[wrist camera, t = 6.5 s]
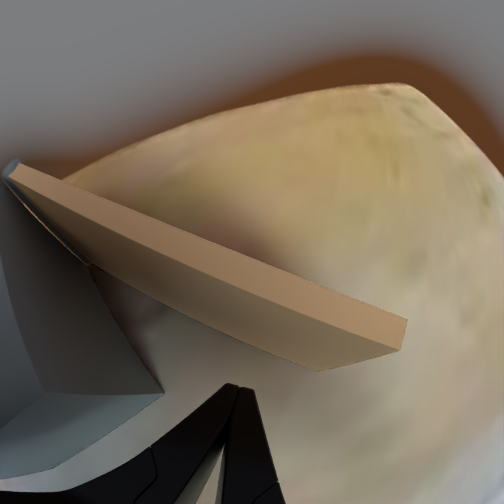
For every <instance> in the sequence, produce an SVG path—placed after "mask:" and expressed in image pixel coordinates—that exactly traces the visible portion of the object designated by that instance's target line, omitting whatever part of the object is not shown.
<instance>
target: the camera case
mask: <svg viewBox="0 0 504 504" xmlns="http://www.w3.org/2000/svg"><path fill="white" fill-rule="evenodd" d="M163 394H165V393H164V391H163V390H162V389H161V387H160V386H159V385H158V383H157V382H156V381H155V379H154V378H153V377H152V375H151V374H150V372H149V371H148V370H147V368H146V367H145V365H144V364H143V362H142V361H141V360H140V358H139V357H138V355H137V354H136V352H135V351H134V349H133V348H132V346H131V345H130V343H129V342H128V340H127V338H126V337H125V335H124V334H123V332H122V330H121V329H120V327H119V326H118V324H117V322H116V321H115V319H114V317H113V316H112V314H111V312H110V310H109V309H108V307H107V305H106V303H105V302H104V300H103V298H102V296H101V294H100V292H99V291H98V289H97V287H96V285H95V283H94V281H93V279H92V277H91V275H90V273H89V271H88V269H87V267H86V265H85V264H84V263H83V262H81V261H80V260H79V259H78V258H77V257H76V256H75V255H74V254H72V253H71V252H70V251H69V250H68V249H67V248H66V247H65V246H64V245H63V244H62V243H61V242H60V241H59V240H57V239H56V238H55V237H54V236H53V235H52V234H51V233H50V232H49V231H48V230H47V229H46V228H45V227H44V226H43V225H42V224H41V223H40V222H39V221H38V220H37V219H36V218H35V217H34V216H33V215H32V214H31V212H30V211H29V210H28V209H27V208H26V207H25V206H24V205H23V204H22V203H21V202H20V201H19V200H18V198H17V197H16V196H15V195H14V194H13V193H12V192H11V191H10V189H9V188H8V187H7V186H6V185H5V184H4V183H3V181H2V180H1V179H0V479H6V478H12V477H18V476H23V475H28V474H33V473H37V472H41V471H45V470H49V469H53V468H55V467H56V466H58V465H60V464H61V463H63V462H65V461H66V460H68V459H69V458H71V457H73V456H74V455H76V454H77V453H79V452H81V451H82V450H84V449H85V448H87V447H88V446H90V445H91V444H93V443H95V442H96V441H98V440H99V439H101V438H102V437H104V436H105V435H107V434H108V433H110V432H111V431H113V430H114V429H116V428H117V427H118V426H120V425H121V424H123V423H124V422H126V421H127V420H129V419H130V418H131V417H133V416H134V415H136V414H137V413H138V412H140V411H141V410H143V409H144V408H145V407H147V406H148V405H150V404H151V403H152V402H154V401H155V400H156V399H158V398H159V397H161V396H162V395H163Z"/></svg>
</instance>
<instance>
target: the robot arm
mask: <svg viewBox="0 0 504 504" xmlns="http://www.w3.org/2000/svg"><path fill="white" fill-rule="evenodd" d="M223 447H224V449H223ZM222 449H223V454H222V461H221V467H220V474H219V481H218V488H217V494H216V501H215V504H286V503H285V500H284V497H283V494H282V491H281V488H280V484H279V482H278V478H277V474H276V470H275V467H274V463H273V460H272V456H271V452H270V449H269V445H268V441H267V438H266V434H265V430H264V426H263V423H262V419H261V415H260V411H259V407H258V403H257V399H256V395H255V392H254V390H253V389H250V388H246V387H239V386H238V385H234V384H230V383H226V384H225V385H223V386H222V387H221V388H220V389H219V390H218V391H217V392H216V393H214V394H213V395H212V396H211V397H210V398H209V399H207V400H206V401H205V402H204V403H203V404H202V405H200V406H199V407H198V408H197V409H196V410H195V411H193V412H192V413H191V414H190V415H189V416H187V417H186V418H185V419H184V420H182V421H181V422H180V423H179V424H178V425H176V426H175V427H174V428H173V429H171V430H170V431H169V432H167V433H166V434H165V435H164V436H162V437H161V438H160V439H159V440H157V441H156V442H155V443H153V444H152V445H151V447H148V448H146V449H145V450H144V451H142V452H141V453H140V454H138V455H137V456H135V457H134V458H132V459H131V460H129V461H128V462H126V463H125V464H123V465H121V466H119V467H117V468H115V469H114V470H112V471H110V472H108V473H106V474H104V475H101V476H99V477H97V478H95V479H93V480H91V481H88V482H86V483H84V484H82V485H79V486H77V487H74V488H71V489H68V490H64V491H59V492H13V491H0V504H196V502H197V500H198V498H199V496H200V494H201V493H202V491H203V489H204V487H205V485H206V483H207V481H208V479H209V477H210V475H211V473H212V471H213V468H214V466H215V464H216V462H217V460H218V458H219V456H220V454H221V452H222Z"/></svg>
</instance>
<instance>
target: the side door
mask: <svg viewBox="0 0 504 504" xmlns="http://www.w3.org/2000/svg"><path fill="white" fill-rule="evenodd" d="M2 178H3V179H4V181H5V182H6V183H7V184H8V185H9V186H10V188H11V189H12V190H13V191H14V192H15V193H16V195H17V196H18V197H19V198H20V199H21V200H22V201H23V202H24V203H25V205H26V206H27V207H28V208H29V209H30V210H31V211H32V212H33V213H34V214H35V215H36V216H37V217H38V218H39V219H40V220H41V221H42V222H43V223H44V224H45V225H46V226H47V227H48V228H49V229H50V230H51V231H52V232H53V233H54V234H55V235H56V236H57V237H58V238H59V239H60V240H61V241H62V242H63V243H64V244H65V245H66V246H67V247H68V248H69V249H70V250H71V251H72V252H74V253H75V254H76V255H77V256H78V257H79V258H80V259H81V260H82V261H83V262H85V263H88V262H90V263H92V264H94V265H95V266H97V267H99V268H100V269H102V270H104V271H105V272H107V273H109V274H111V275H112V276H114V277H116V278H117V279H119V280H121V281H123V282H124V283H126V284H128V285H130V286H132V287H133V288H135V289H137V290H139V291H141V292H142V293H144V294H146V295H148V296H150V297H152V298H154V299H155V300H157V301H159V302H161V303H163V304H165V305H167V306H169V307H171V308H173V309H175V310H177V311H179V312H181V313H183V314H185V315H187V316H189V317H191V318H193V319H195V320H197V321H199V322H201V323H203V324H205V325H207V326H210V327H212V328H214V329H216V330H218V331H220V332H222V333H225V334H227V335H229V336H231V337H234V338H236V339H238V340H240V341H243V342H245V343H247V344H250V345H252V346H254V347H257V348H259V349H261V350H264V351H266V352H269V353H271V354H273V355H276V356H278V357H281V358H283V359H286V360H289V361H291V362H294V363H296V364H299V365H302V366H304V367H307V368H310V369H312V370H315V371H318V372H319V371H323V370H328V369H333V368H337V367H341V366H345V365H350V364H354V363H357V362H361V361H365V360H369V359H372V358H376V357H379V356H383V355H386V354H390V353H393V352H396V351H399V350H400V349H401V345H402V341H403V338H404V334H405V329H406V325H407V321H408V319H405V318H403V317H400V316H398V315H395V314H392V313H390V312H387V311H385V310H382V309H380V308H377V307H375V306H372V305H369V304H367V303H364V302H362V301H359V300H357V299H354V298H352V297H349V296H347V295H344V294H341V293H339V292H336V291H334V290H331V289H329V288H326V287H324V286H321V285H319V284H316V283H314V282H311V281H309V280H306V279H304V278H301V277H299V276H296V275H294V274H291V273H288V272H286V271H283V270H281V269H278V268H276V267H273V266H271V265H268V264H266V263H263V262H261V261H258V260H256V259H253V258H251V257H248V256H246V255H243V254H241V253H238V252H236V251H233V250H231V249H228V248H226V247H223V246H221V245H218V244H216V243H214V242H211V241H209V240H206V239H204V238H201V237H199V236H196V235H194V234H191V233H189V232H186V231H184V230H181V229H179V228H176V227H174V226H171V225H169V224H166V223H164V222H162V221H159V220H157V219H154V218H152V217H149V216H147V215H144V214H142V213H139V212H137V211H135V210H132V209H130V208H127V207H125V206H122V205H120V204H117V203H115V202H113V201H110V200H108V199H105V198H103V197H100V196H98V195H95V194H93V193H91V192H88V191H86V190H83V189H81V188H78V187H76V186H74V185H71V184H69V183H66V182H64V181H61V180H59V179H57V178H54V177H52V176H49V175H47V174H44V173H42V172H40V171H37V170H35V169H33V168H30V167H28V166H25V165H23V164H22V162H21V161H20V160H19V158H15V159H13V160H12V161H10V162H9V163H8V164H7V165H6V167H5V168H4V170H3V172H2Z"/></svg>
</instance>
